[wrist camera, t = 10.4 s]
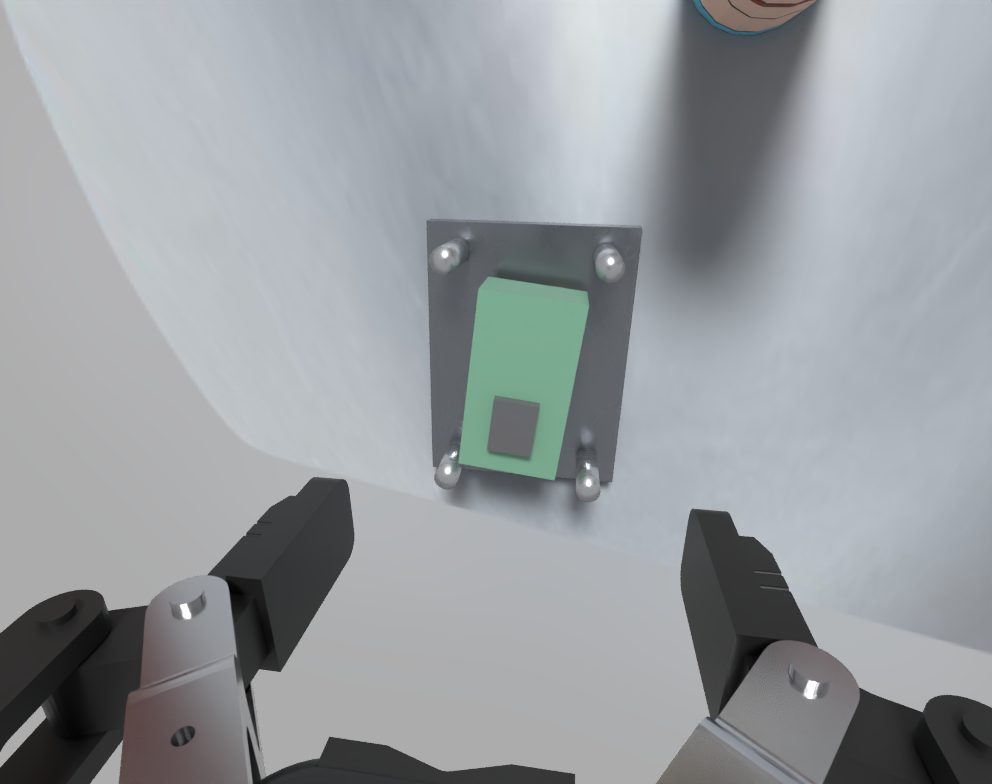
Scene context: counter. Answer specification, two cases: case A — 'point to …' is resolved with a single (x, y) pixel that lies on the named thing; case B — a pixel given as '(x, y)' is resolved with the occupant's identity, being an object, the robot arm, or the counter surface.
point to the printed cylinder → (750, 14)
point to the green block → (521, 375)
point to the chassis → (547, 261)
